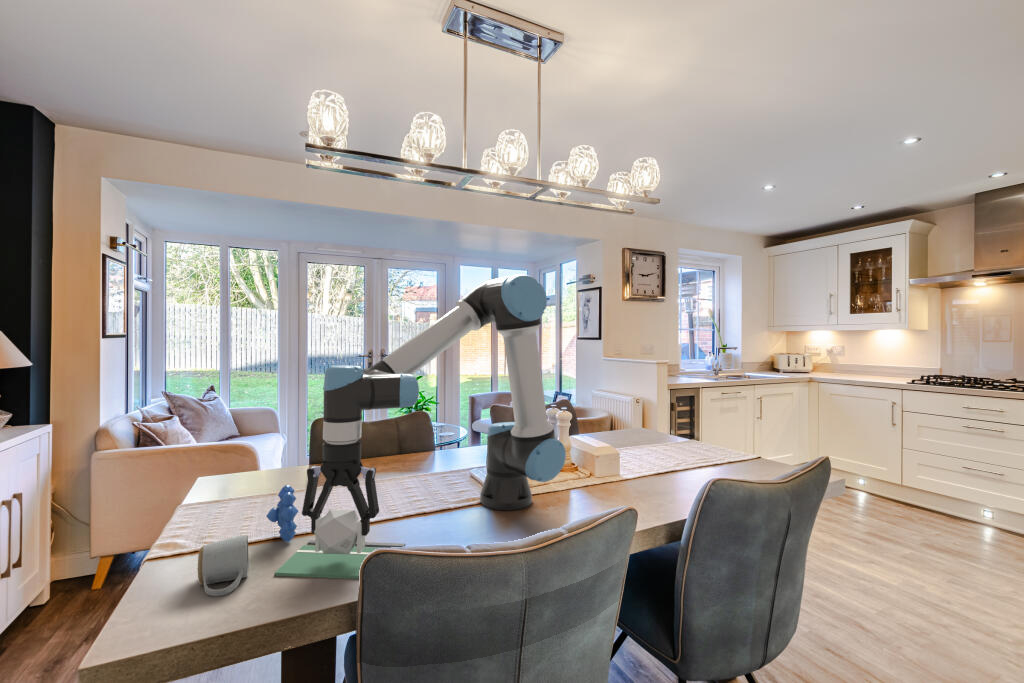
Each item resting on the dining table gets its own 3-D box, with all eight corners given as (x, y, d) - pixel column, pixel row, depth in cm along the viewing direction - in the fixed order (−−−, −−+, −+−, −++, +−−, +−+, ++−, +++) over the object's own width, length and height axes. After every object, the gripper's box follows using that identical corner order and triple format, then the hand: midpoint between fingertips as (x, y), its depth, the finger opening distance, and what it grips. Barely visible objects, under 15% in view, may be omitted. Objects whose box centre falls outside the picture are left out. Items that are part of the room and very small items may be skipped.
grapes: (264, 532, 110) (264, 482, 110) (295, 526, 113) (296, 478, 113) (267, 552, 100) (268, 497, 100) (301, 545, 103) (302, 492, 103)
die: (332, 569, 89) (365, 522, 92) (297, 542, 91) (331, 497, 94) (347, 564, 97) (377, 521, 100) (315, 539, 99) (345, 498, 102)
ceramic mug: (200, 574, 90) (201, 536, 90) (248, 565, 94) (249, 528, 94) (194, 603, 81) (195, 561, 81) (248, 592, 85) (248, 551, 85)
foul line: (404, 544, 105) (404, 543, 105) (403, 547, 104) (403, 545, 104) (310, 541, 106) (310, 540, 106) (307, 543, 104) (307, 542, 104)
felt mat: (401, 551, 102) (401, 548, 102) (384, 579, 90) (385, 576, 90) (303, 547, 102) (303, 544, 102) (274, 575, 90) (274, 572, 90)
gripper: (397, 437, 98) (394, 543, 99) (301, 434, 99) (299, 539, 99) (386, 446, 91) (384, 560, 91) (283, 442, 91) (281, 556, 92)
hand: (340, 549), depth 95 cm, fingers closed on die, 8 cm apart
